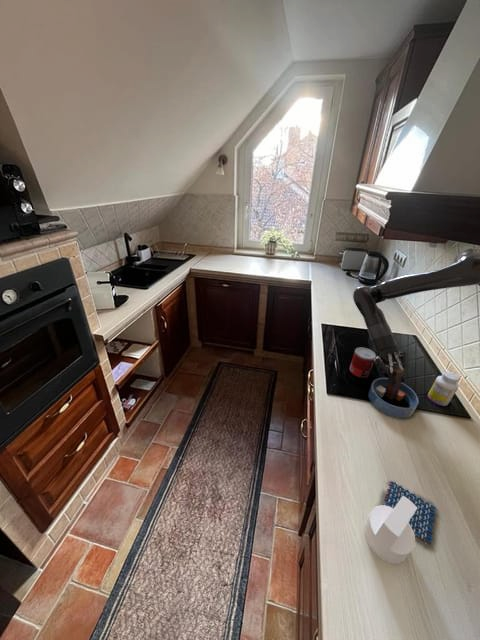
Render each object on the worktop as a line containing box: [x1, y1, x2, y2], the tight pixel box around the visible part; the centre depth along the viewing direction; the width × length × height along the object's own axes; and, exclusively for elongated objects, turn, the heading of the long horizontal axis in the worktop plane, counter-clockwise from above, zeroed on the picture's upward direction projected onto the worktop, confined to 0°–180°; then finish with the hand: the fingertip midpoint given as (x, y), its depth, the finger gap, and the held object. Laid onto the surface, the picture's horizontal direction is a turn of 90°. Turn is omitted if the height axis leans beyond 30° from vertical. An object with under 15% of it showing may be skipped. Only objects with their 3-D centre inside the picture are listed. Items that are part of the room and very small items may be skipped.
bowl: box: [367, 377, 420, 419], centre depth 93 cm, size 15×15×6 cm
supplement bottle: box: [427, 370, 460, 407], centre depth 93 cm, size 7×7×13 cm
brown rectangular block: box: [384, 367, 405, 401], centre depth 92 cm, size 3×3×12 cm
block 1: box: [375, 385, 385, 398], centre depth 97 cm, size 3×3×3 cm
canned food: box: [349, 346, 377, 379], centre depth 106 cm, size 8×8×11 cm
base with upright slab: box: [363, 496, 417, 565], centre depth 56 cm, size 9×9×12 cm
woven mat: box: [382, 480, 437, 545], centre depth 63 cm, size 10×11×2 cm
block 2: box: [394, 389, 406, 402], centre depth 95 cm, size 3×3×3 cm
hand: (399, 382), depth 90 cm, fingers closed on brown rectangular block, 3 cm apart
